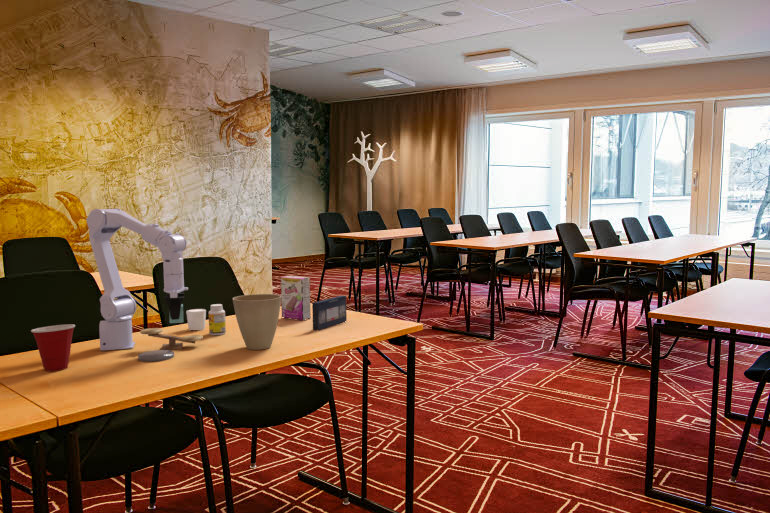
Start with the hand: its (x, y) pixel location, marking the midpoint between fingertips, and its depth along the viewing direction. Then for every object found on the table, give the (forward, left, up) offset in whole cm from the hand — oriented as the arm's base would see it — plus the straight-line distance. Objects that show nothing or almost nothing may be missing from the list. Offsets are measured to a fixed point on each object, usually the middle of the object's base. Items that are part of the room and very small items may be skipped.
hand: (175, 317), depth 188 cm
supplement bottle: (+13, +22, -11) cm, 27 cm away
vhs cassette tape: (+53, +23, -11) cm, 58 cm away
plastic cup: (-31, -10, -11) cm, 35 cm away
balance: (-1, +5, -10) cm, 12 cm away
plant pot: (+25, -3, -11) cm, 27 cm away
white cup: (+6, +33, -11) cm, 35 cm away
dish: (-5, -6, -10) cm, 13 cm away
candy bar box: (+43, +41, -11) cm, 60 cm away
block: (0, 0, -1) cm, 1 cm away
